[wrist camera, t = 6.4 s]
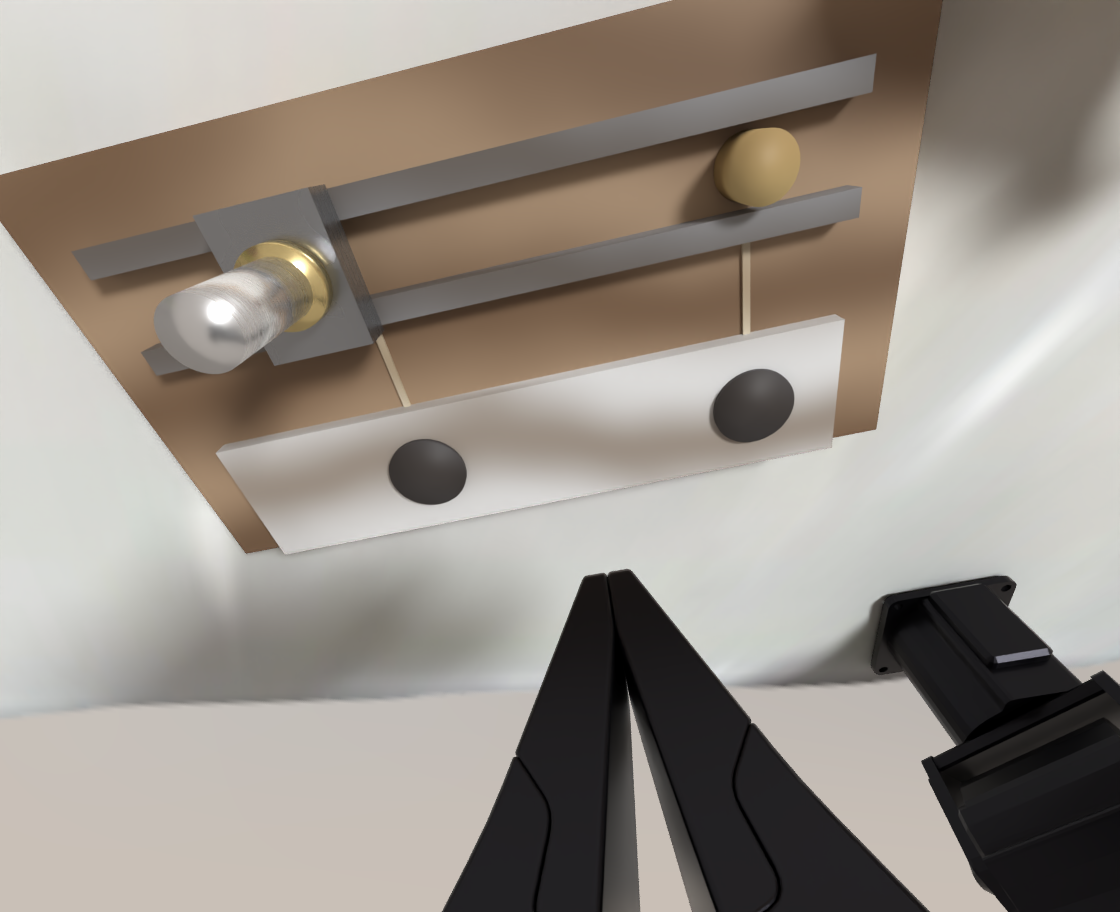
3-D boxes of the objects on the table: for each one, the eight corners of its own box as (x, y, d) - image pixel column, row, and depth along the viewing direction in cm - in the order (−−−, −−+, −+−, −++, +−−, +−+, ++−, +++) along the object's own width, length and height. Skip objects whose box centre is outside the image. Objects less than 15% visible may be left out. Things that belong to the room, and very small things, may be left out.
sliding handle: (384, 330, 15) (320, 409, 11) (291, 351, 15) (189, 438, 11) (325, 184, 13) (213, 204, 8) (217, 210, 13) (52, 243, 9)
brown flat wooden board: (854, 411, 20) (900, 449, 18) (262, 530, 22) (227, 579, 20) (913, -52, 13) (1005, -100, 11) (19, 179, 15) (-87, 186, 12)
